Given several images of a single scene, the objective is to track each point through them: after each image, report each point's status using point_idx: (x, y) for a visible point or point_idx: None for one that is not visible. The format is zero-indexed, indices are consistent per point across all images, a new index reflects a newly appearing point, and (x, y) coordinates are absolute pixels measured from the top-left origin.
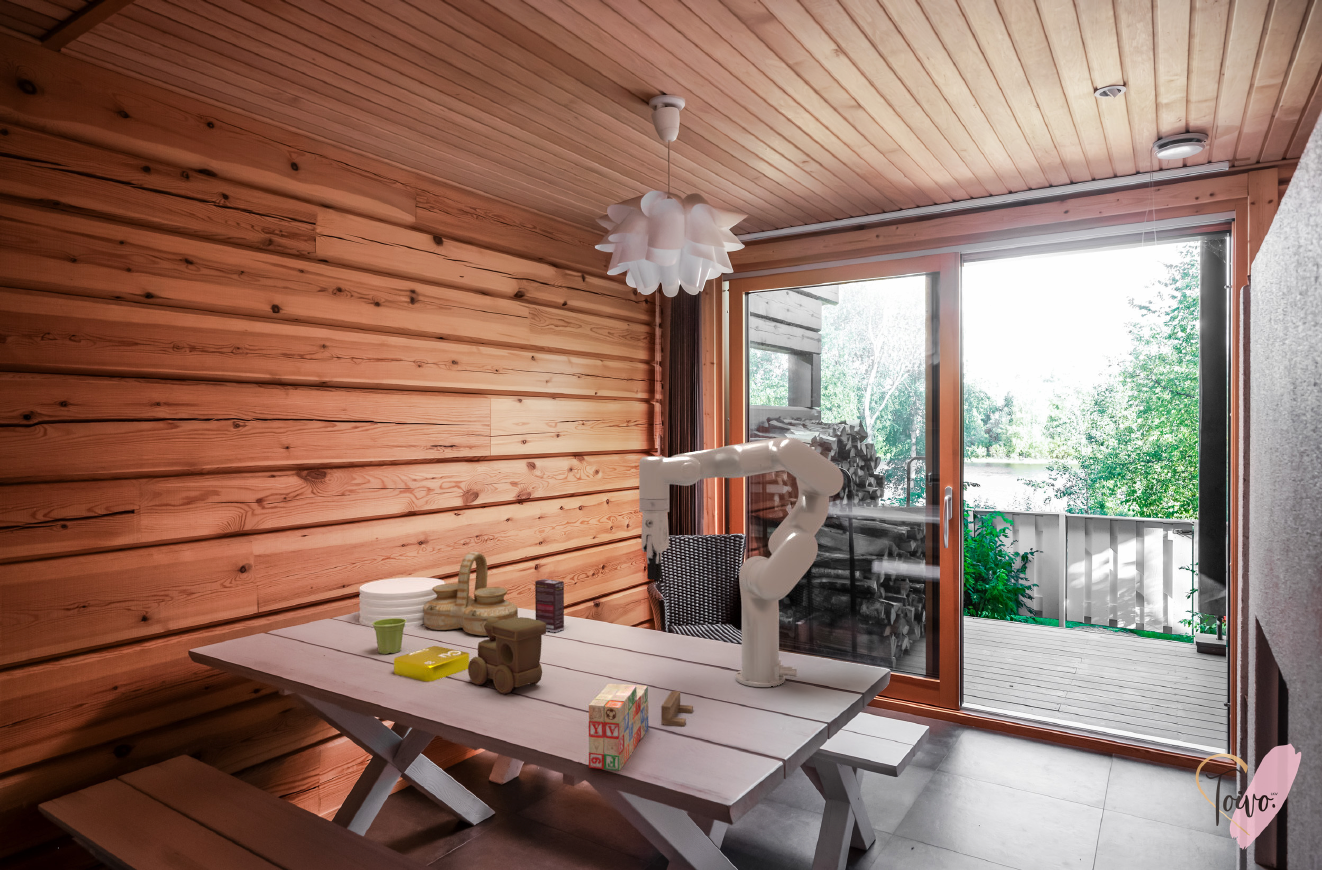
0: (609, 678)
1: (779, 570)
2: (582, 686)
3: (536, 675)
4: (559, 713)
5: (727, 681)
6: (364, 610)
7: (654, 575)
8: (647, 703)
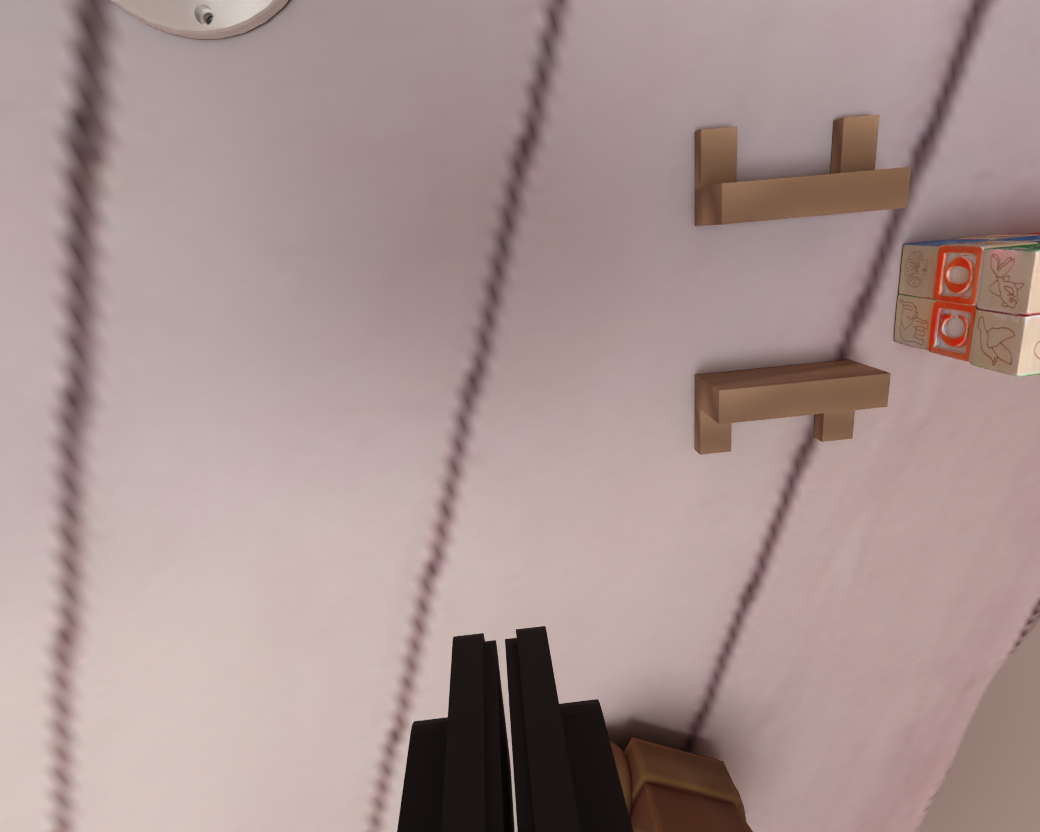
0: (447, 566)
1: None
2: (562, 612)
3: (656, 758)
4: (821, 567)
5: (284, 74)
6: None
7: (598, 720)
8: (989, 244)
